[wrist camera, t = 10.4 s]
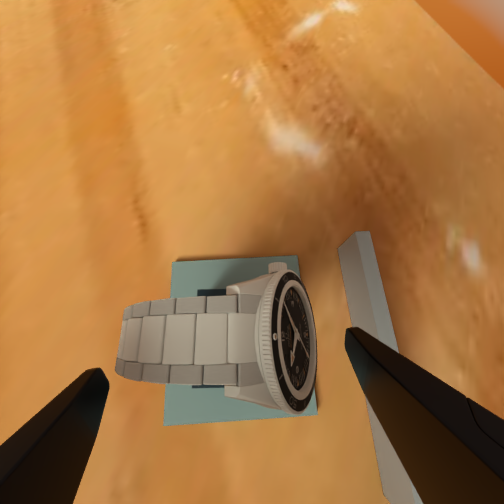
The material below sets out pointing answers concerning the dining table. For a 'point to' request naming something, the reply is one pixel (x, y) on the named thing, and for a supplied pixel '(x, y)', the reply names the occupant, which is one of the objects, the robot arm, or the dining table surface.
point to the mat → (212, 399)
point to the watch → (228, 341)
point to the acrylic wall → (379, 326)
